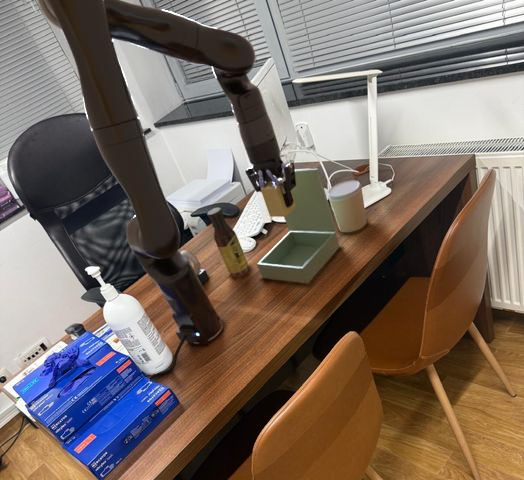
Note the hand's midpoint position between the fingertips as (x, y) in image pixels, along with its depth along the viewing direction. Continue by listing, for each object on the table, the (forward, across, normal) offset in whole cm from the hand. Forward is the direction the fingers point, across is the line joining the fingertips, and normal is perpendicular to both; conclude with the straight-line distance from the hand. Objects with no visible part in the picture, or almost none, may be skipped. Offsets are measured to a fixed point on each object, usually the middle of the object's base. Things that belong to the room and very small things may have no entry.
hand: (281, 205), depth 114 cm
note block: (+2, 0, 0) cm, 2 cm away
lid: (+3, 0, +8) cm, 8 cm away
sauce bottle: (+18, -18, -6) cm, 26 cm away
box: (+18, 0, 0) cm, 18 cm away
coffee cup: (+18, +6, +20) cm, 27 cm away
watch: (+18, -30, -13) cm, 38 cm away
